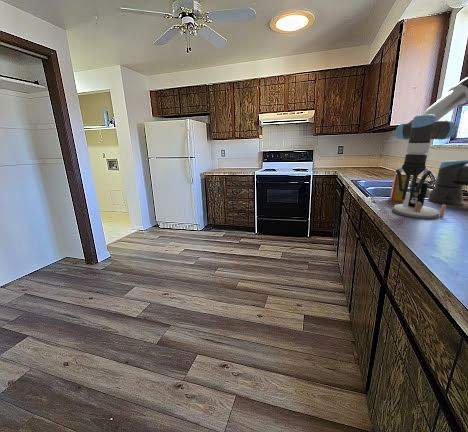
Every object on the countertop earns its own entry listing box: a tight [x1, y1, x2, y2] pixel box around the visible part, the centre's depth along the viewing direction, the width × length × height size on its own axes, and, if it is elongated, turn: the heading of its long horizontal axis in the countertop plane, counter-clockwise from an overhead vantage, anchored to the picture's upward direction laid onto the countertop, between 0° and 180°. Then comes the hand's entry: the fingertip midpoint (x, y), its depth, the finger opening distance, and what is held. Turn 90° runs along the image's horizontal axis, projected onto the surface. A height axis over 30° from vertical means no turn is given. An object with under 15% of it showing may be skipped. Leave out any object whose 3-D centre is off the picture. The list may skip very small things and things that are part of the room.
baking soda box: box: [389, 171, 411, 204], centre depth 138 cm, size 10×6×16 cm
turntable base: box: [392, 204, 447, 220], centre depth 114 cm, size 18×20×6 cm
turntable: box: [393, 201, 440, 217], centre depth 115 cm, size 17×17×5 cm
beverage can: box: [408, 180, 429, 207], centre depth 117 cm, size 7×7×12 cm
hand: (404, 206), depth 111 cm, fingers closed
